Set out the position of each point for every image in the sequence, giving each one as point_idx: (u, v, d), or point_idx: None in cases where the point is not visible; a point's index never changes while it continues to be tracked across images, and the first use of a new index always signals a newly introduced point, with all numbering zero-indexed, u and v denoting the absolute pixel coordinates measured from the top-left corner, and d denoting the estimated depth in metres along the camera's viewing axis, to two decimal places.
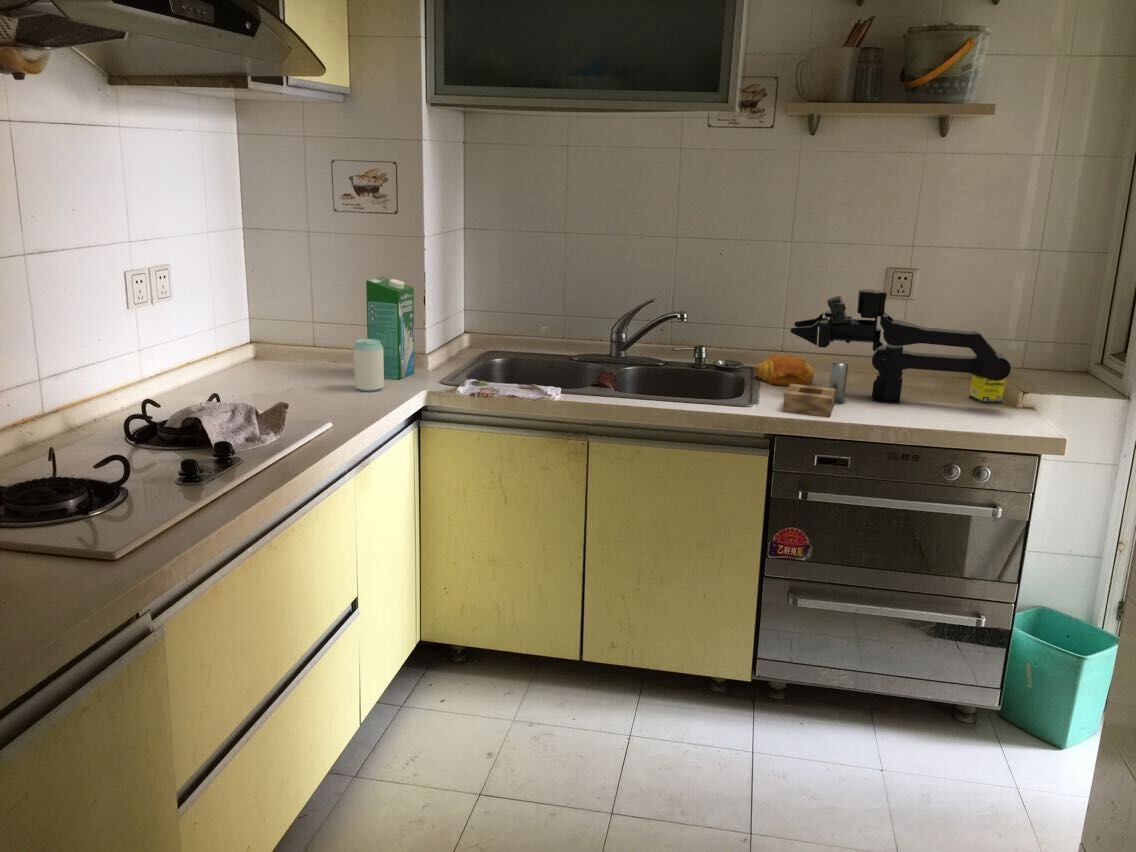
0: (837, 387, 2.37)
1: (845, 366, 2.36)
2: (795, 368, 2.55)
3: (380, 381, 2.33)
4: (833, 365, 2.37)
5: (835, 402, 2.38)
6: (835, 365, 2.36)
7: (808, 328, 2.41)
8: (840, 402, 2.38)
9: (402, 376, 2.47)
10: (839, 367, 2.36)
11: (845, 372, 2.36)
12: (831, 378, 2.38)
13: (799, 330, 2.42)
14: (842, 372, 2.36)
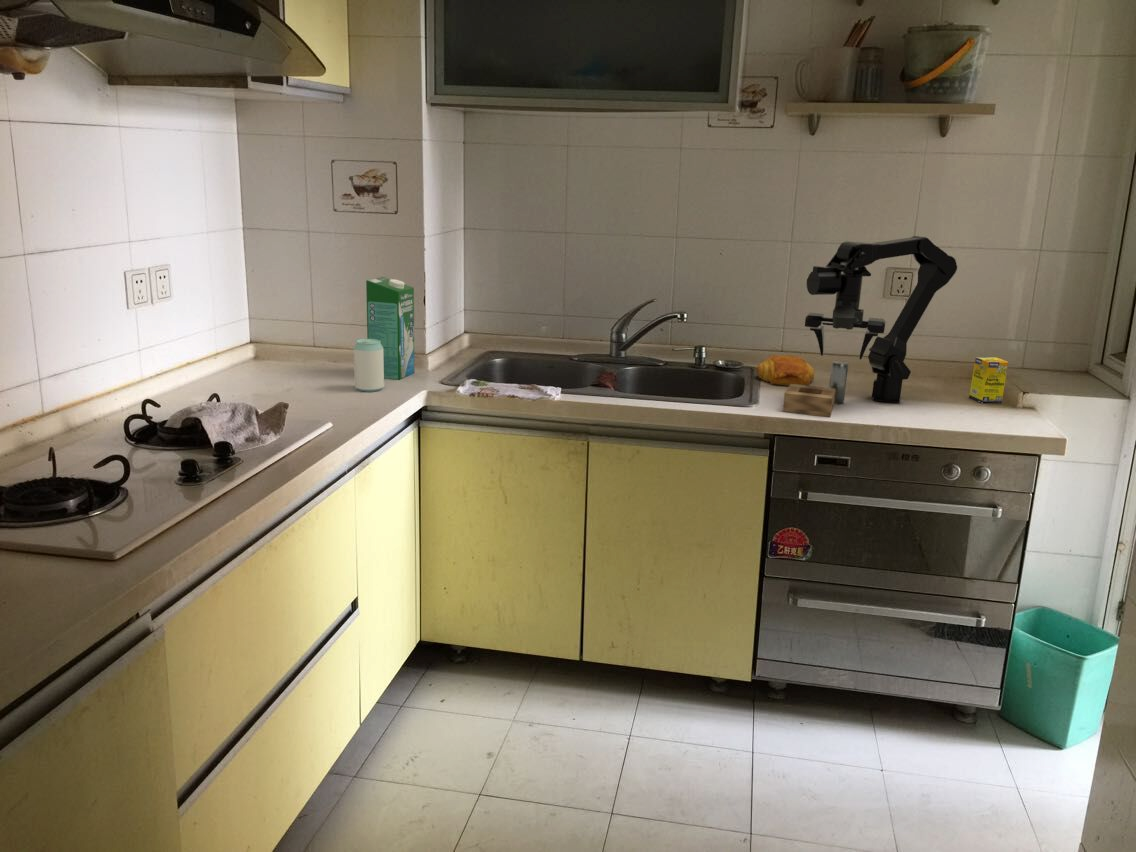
0: (837, 387, 2.37)
1: (845, 366, 2.36)
2: (796, 368, 2.55)
3: (380, 381, 2.33)
4: (833, 365, 2.37)
5: (835, 402, 2.38)
6: (835, 365, 2.36)
7: None
8: (840, 402, 2.38)
9: (402, 376, 2.47)
10: (839, 367, 2.36)
11: (845, 372, 2.36)
12: (831, 378, 2.38)
13: None
14: (842, 372, 2.36)
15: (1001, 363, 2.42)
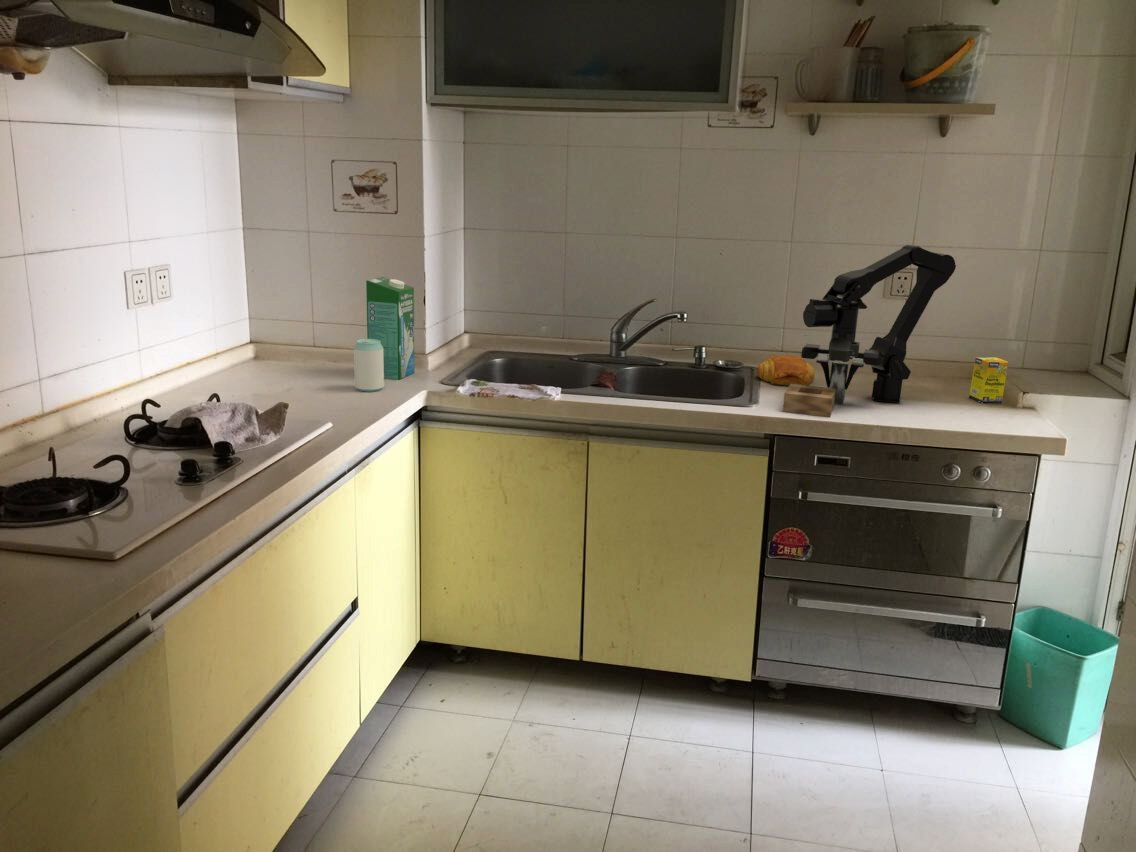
0: (837, 387, 2.37)
1: (845, 366, 2.36)
2: (796, 368, 2.55)
3: (380, 381, 2.33)
4: (833, 365, 2.37)
5: (835, 402, 2.38)
6: (835, 365, 2.36)
7: None
8: (840, 402, 2.38)
9: (402, 376, 2.47)
10: (839, 367, 2.36)
11: (845, 372, 2.36)
12: (831, 378, 2.38)
13: None
14: (842, 372, 2.36)
15: (1001, 363, 2.42)
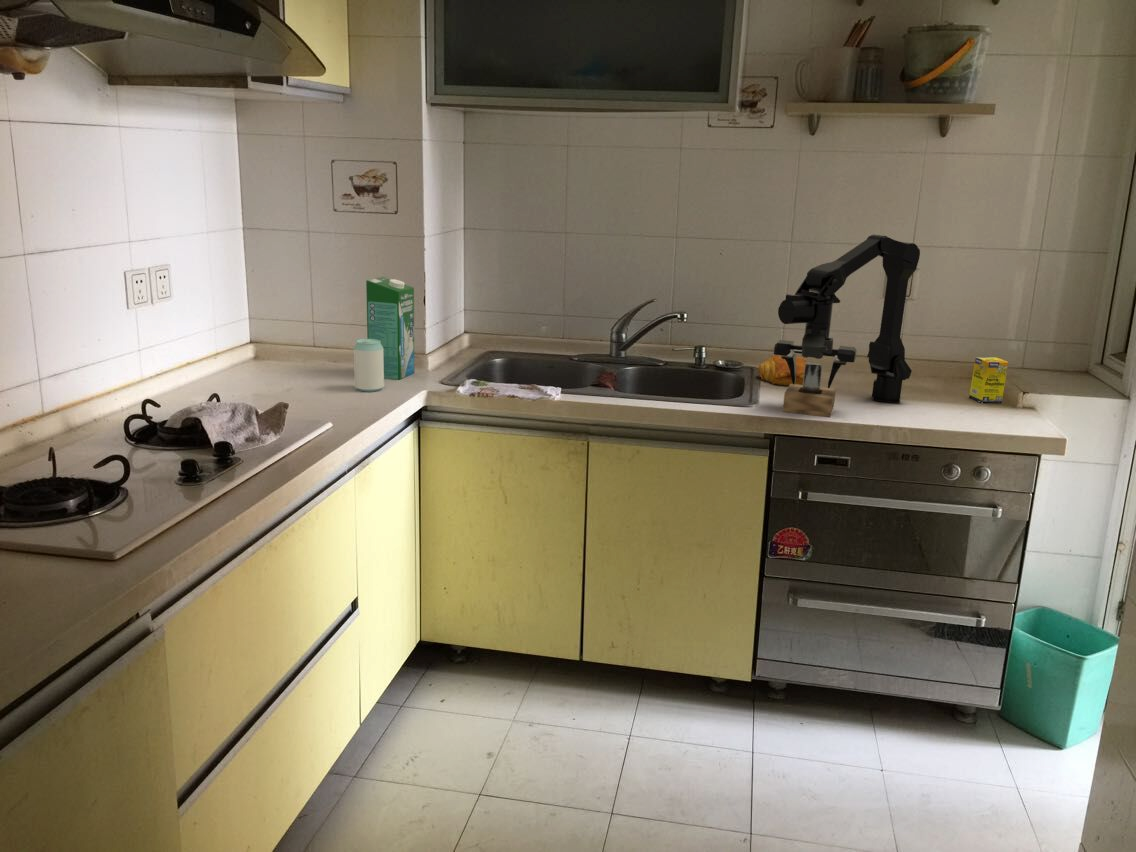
0: (811, 389, 2.29)
1: (819, 367, 2.28)
2: (797, 368, 2.55)
3: (380, 381, 2.33)
4: (806, 366, 2.29)
5: None
6: (808, 366, 2.29)
7: None
8: None
9: (402, 376, 2.47)
10: (812, 368, 2.28)
11: (818, 373, 2.29)
12: (804, 380, 2.30)
13: (832, 379, 2.29)
14: (816, 373, 2.28)
15: (1001, 363, 2.42)
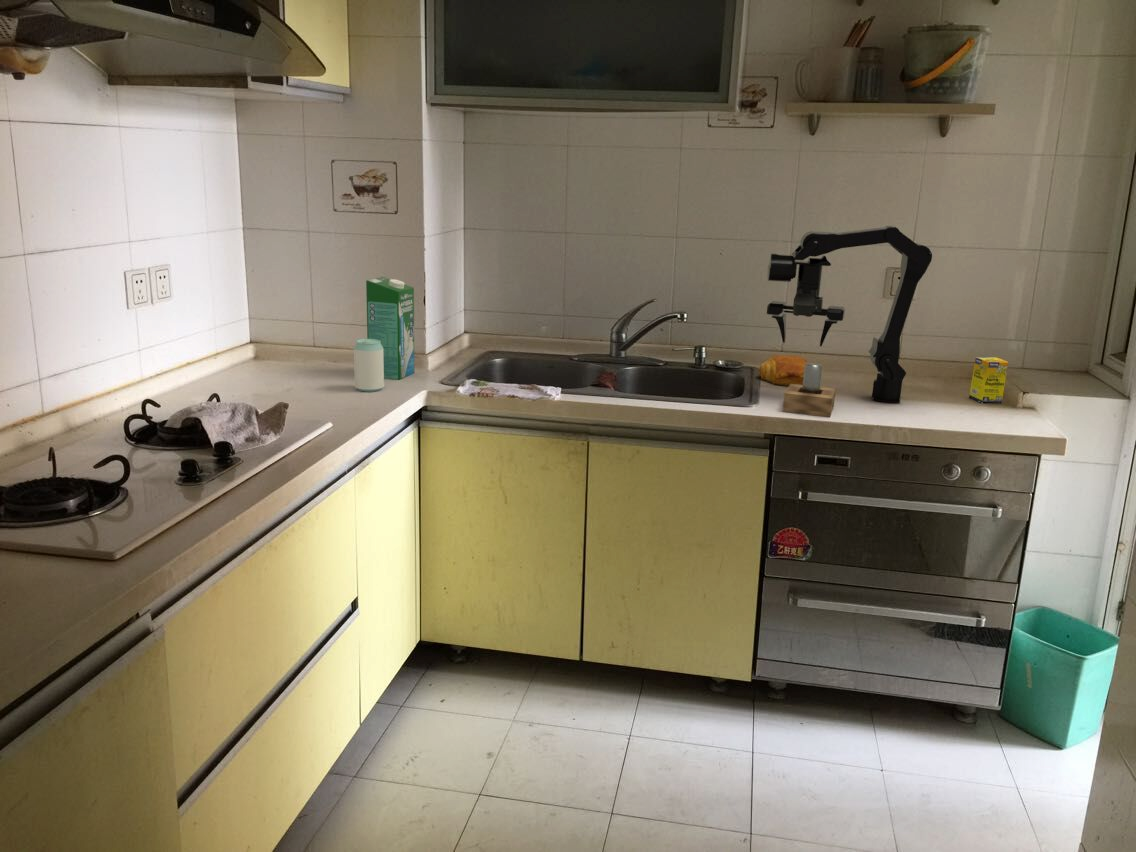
0: (810, 389, 2.29)
1: (818, 368, 2.28)
2: (797, 368, 2.55)
3: (380, 381, 2.33)
4: (806, 367, 2.29)
5: None
6: (808, 367, 2.28)
7: None
8: None
9: (402, 376, 2.47)
10: (812, 369, 2.28)
11: (818, 373, 2.28)
12: (804, 380, 2.30)
13: None
14: (816, 374, 2.28)
15: (1001, 363, 2.42)
